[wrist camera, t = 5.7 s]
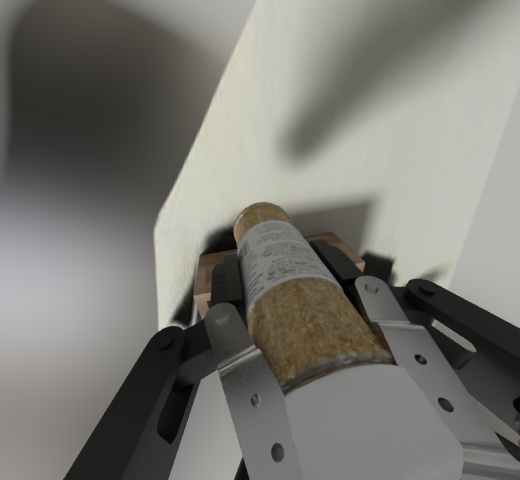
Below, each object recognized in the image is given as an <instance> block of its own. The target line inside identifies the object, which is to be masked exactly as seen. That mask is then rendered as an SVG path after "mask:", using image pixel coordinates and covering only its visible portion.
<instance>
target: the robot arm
mask: <svg viewBox="0 0 520 480" xmlns="http://www.w3.org/2000/svg"><path fill="white" fill-rule="evenodd" d="M309 245H310V246H311V248H312V249H313V250H314V252H315V253H316V254H317V256H318V257H319V258H320V260H321V261H322V262H323V264H324V265H325V266H326V268H327V269H328V270H329V271H330V273H331V274H332V275H333V277H334V278H335V279H336V281H337V282H338V283H339V285H340V286H341V287H342V289H343V292H344V294H345V295H346V297H347V298H348V300H349V301H350V303H351V304H352V305H353V307H354V308H355V309H356V311H357V312H358V314H359V315H360V316H361V317H362V319H363V320H364V322H365V323H366V324H367V326H368V327H369V328H370V329H371V330H372V333H373V334H374V335H375V336H376V337H377V339H378V340H379V342H380V344H381V346H382V347H383V349H384V350H386V351H387V352H389V353H390V354H391V357H392V362H393V364H394V365H395V366H400V367H403V368H404V369H405V370H406V371H407V372H408V374H409V375H410V376H411V377H412V379H413V380H414V381H415V383H416V384H417V385H418V387H419V388H420V389H421V391H422V392H423V393H424V394H425V396H426V397H427V398H428V400H429V401H430V402H431V404H432V405H433V406H434V408H435V409H436V410H437V412H438V413H439V415H440V416H441V418H442V419H443V420H444V422H445V423H446V425H447V426H448V427H449V429H450V430H451V431H452V433H453V434H454V435H455V437H456V438H457V439H458V441H459V442H460V444H461V445H462V447H463V450H464V453H463V459H464V461H463V462H464V464H463V469H462V475H461V477H460V479H459V480H520V447H518V446H517V445H515V444H514V443H512V442H510V441H509V440H507V439H506V438H504V437H502V436H501V435H499V434H498V433H496V432H495V431H493V429H492V428H491V426H490V425H489V423H488V422H487V420H486V419H485V417H484V416H483V415H482V413H481V411H480V410H479V408H478V407H477V405H476V403H475V402H474V401H473V399H472V398H471V396H473V397H474V398H475V399H476V400H478V401H479V402H480V403H481V404H482V405H484V406H485V407H486V408H488V409H489V410H490V411H491V412H492V413H494V414H495V415H496V416H497V417H498V418H500V419H501V420H502V421H503V422H504V423H506V424H507V425H508V426H509V427H510V428H512V429H513V430H514V431H515V432H517V433H518V434H519V435H520V328H518V327H516V326H514V325H512V324H510V323H509V322H507V321H505V320H503V319H501V318H499V317H497V316H495V315H494V314H492V313H490V312H488V311H486V310H484V309H482V308H480V307H478V306H477V305H475V304H473V303H471V302H469V301H467V300H465V299H463V298H461V297H459V296H458V295H456V294H453V293H452V292H450V291H448V290H446V289H444V288H443V287H441V286H439V285H437V284H435V283H433V282H430V281H427V280H423V279H412V280H410V281H408V283H407V285H406V287H394V286H387V285H386V284H385V283H384V282H383V281H381V280H380V279H378V278H375V277H371V276H366V275H365V274H364V273H363V272H362V271H361V270H360V269H359V268H358V267H357V266H356V265H355V264H354V263H353V262H352V261H351V260H350V259H349V258H348V257H347V256H345V254H344V253H343V252H342V251H341V250H340V249H339V248H337V247H335V246H333V245H329V244H328V243H327V242H326V241H325V240H324V239H315V240H310V241H309ZM435 319H436V320H438V321H439V322H441V323H442V324H444V325H445V326H447V327H448V328H450V329H451V330H453V331H454V332H456V333H458V334H459V335H461V336H462V337H464V338H465V339H467V340H468V341H469V342H471V343H472V344H473V345H474V347H475V348H476V352H471V351H469V350H466V349H465V348H463V347H462V346H461V345H459V344H458V343H456V342H455V341H453V340H452V339H450V338H449V337H447V336H446V335H444V334H443V333H442V332H440V331H439V330H437V329H436V328H434V327H433V326H431V325H432V323H433V322H434V320H435ZM217 369H218V373H219V376H220V380H221V383H222V387H223V390H224V393H225V397H226V400H227V404H228V407H229V410H230V414H231V417H232V421H233V424H234V427H235V431H236V434H237V438H238V441H239V444H240V448H241V451H242V455H243V457H242V460H241V462H240V465H239V468H238V470H237V473H236V476H235V479H234V480H304V479H303V476H302V472H301V468H300V464H299V461H298V457H297V453H296V449H295V445H294V442H293V438H292V433H291V429H290V424H289V420H288V415H287V411H286V406H285V401H284V399H285V396H284V394H283V392H282V390H281V388H280V386H279V384H278V382H277V380H276V378H275V377H274V375H273V373H272V371H271V369H270V367H269V365H268V363H267V361H266V359H265V357H264V355H263V354H262V352H261V350H260V349H259V348H258V347H256V346H255V345H254V343H253V341H252V339H251V337H250V335H249V333H248V329H247V326H246V320H245V309H244V302H243V294H242V286H241V279H240V271H239V263H238V256H237V252H234V253H228V254H224V263H220V264H216V266H215V267H214V269H213V270H212V285H211V299H210V309H209V310H208V311H207V313H206V315H205V317H204V319H203V320H201V321H200V322H199V323H197V324H195V325H193V326H191V327H189V328H187V329H185V330H183V329H182V328H180V327H178V326H170V327H166V328H164V329H162V330H160V331H159V332H157V333H156V334H155V335H154V336H153V337H152V338H151V339H150V341H149V342H148V344H147V346H146V347H145V349H144V350H143V352H142V354H141V355H140V357H139V358H138V360H137V362H136V363H135V365H134V366H133V368H132V370H131V371H130V373H129V375H128V376H127V378H126V379H125V381H124V383H123V384H122V386H121V387H120V389H119V391H118V392H117V394H116V395H115V397H114V399H113V400H112V402H111V404H110V405H109V407H108V408H107V410H106V412H105V413H104V415H103V416H102V418H101V420H100V421H99V423H98V424H97V426H96V428H95V429H94V431H93V433H92V434H91V436H90V437H89V439H88V441H87V442H86V444H85V446H84V447H83V449H82V450H81V452H80V454H79V455H78V457H77V458H76V460H75V462H74V463H73V465H72V467H71V468H70V470H69V471H68V473H67V474H66V476H65V478H64V479H63V480H168V479H169V475H170V472H171V469H172V466H173V463H174V460H175V457H176V454H177V451H178V448H179V445H180V442H181V439H182V436H183V433H184V429H185V427H186V424H187V421H188V417H189V414H190V411H191V408H192V405H193V402H194V399H195V396H196V393H197V390H198V387H199V384H200V380H201V379H203V378H204V377H206V376H208V375H209V374H211V373H212V372H214V371H216V370H217ZM470 395H471V396H470ZM258 403H261V405H260V406H259V407H257V404H258ZM518 444H519V446H520V439H519V440H518ZM277 448H281V449H282V450H283V452H284V458H283V460H282V461H281V462H275V461H274V460H273V458H272V456H273V453H274V451H275V450H276V449H277Z"/></svg>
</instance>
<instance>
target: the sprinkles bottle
mask: <svg viewBox="0 0 520 480" xmlns="http://www.w3.org/2000/svg"><path fill="white" fill-rule="evenodd" d="M234 237H235V240H236V242H237V248H238V249H237V256H238V263H239V271H240V279H241V286H242V294H243V302H244V309H245V320H246V326H247V329H248V332H249V335H250V337H251V339H252V341H253V343H254V345H255V346H256V347H258V348H259V349H260V350H261V352H262V354H263V355H264V357H265V359H266V361H267V363H268V365H269V367H270V369H271V371H272V373H273V375H274V377H275V378H276V380H277V382H278V384H279V386H280V388H281V390H282V392H283V394H284V396H285V399H284V401H285V406H286V411H287V415H288V420H289V424H290V429H291V433H292V438H293V442H294V445H295V449H296V453H297V457H298V461H299V464H300V468H301V472H302V476H303V479H304V480H459V479H460V477H461V475H462V469H463V464H464V462H463V461H464V459H463V453H464V450H463V447H462V445H461V444H460V442H459V441H458V439H457V438H456V437H455V435H454V434H453V433H452V431H451V430H450V429H449V427H448V426H447V425H446V423H445V422H444V420H443V419H442V418H441V416H440V415H439V413H438V412H437V410H436V409H435V408H434V406H433V405H432V404H431V402H430V401H429V400H428V398H427V397H426V396H425V394H424V393H423V392H422V391H421V389H420V388H419V387H418V385H417V384H416V383H415V381H414V380H413V379H412V377H411V376H410V375H409V374H408V372H407V371H406V370H405V369H404V368H403V367H400V366H395V365H394V364H393V362H392V357H391V354H390V353H389V352H387V351H386V350H384V349H383V347H382V346H381V344H380V342H379V340H378V339H377V337H376V336H375V335H374V334H373V333H372V330H371V329H370V328H369V327H368V326H367V324H366V323H365V322H364V320H363V319H362V317H361V316H360V315H359V314H358V312H357V311H356V309H355V308H354V307H353V305H352V304H351V303H350V301H349V300H348V298H347V297H346V295H345V294H344V292H343V289H342V287H341V286H340V285H339V283H338V282H337V281H336V279H335V278H334V277H333V275H332V274H331V273H330V271H329V270H328V269H327V268H326V266H325V265H324V264H323V262H322V261H321V260H320V258H319V257H318V256H317V254H316V253H315V252H314V250H313V249H312V248H311V246H310V245H309V244H308V243H307V241H306V240H305V239H304V237H303V236H302V235H301V233H300V232H299V231H298V230H297V229H296V228H295V227H294V226H293V224H292V223H291V222H290V220H289V218H288V216H287V214H286V213H285V212H284V211H283V210H282V208H281V207H279V206H277V205H275V204H272V203H267V202H261V203H255V204H253V205H250V206H249V207H247V208H245V209H244V210H243V211H242V212H241V213H240V214H239V215H238V217H237V219H236V221H235V226H234ZM260 405H261V403H258V404H257V407H259V406H260ZM272 458H273V460H274V461H275V462H281V461H282V460H283V458H284V452H283V450H282V449H281V448H277V449H276V450H275V451H274V453H273V456H272Z"/></svg>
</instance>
